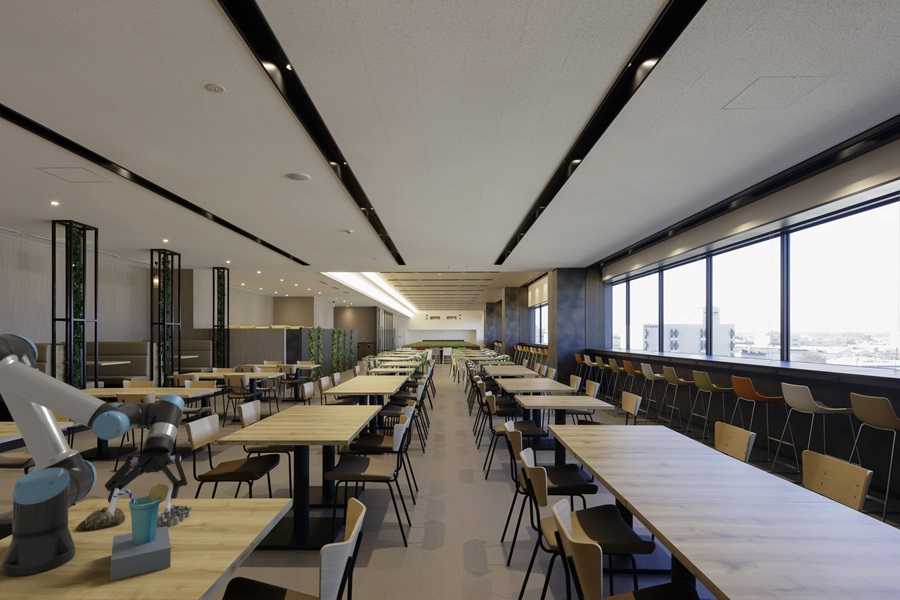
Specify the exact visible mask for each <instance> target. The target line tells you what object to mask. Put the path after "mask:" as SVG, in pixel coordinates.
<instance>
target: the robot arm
mask: <svg viewBox="0 0 900 600" xmlns="http://www.w3.org/2000/svg"><path fill="white" fill-rule="evenodd" d="M38 355H39V354H38V348H37V346H36V344H35V343H34V342H33V341H32V340H31V339H29V338H28V337H25V336H23V335H18V334H12V333H2V334H0V395H1V397H2V399H3V401H4V403H5V405H6V407H7V409H8V412H9V413H10V415H11V418H12V420H13V421H14V424H15V425H16V427H17V429H18V431H19V433H20V436H21V437H22V439H23V441H24V443H25V446H26V448H27V449H28V452H29V454H30V455H31V457H32V460H33V461H34V464H35V466H34V467H33V469H32V471H31V472H29V473H27V474H24V475H22V476H21V477H20V478H18V479H17V480H16V482H15V484H14V485H13V492H12V534H11V535H12V536H11V540H10V543H9V545H8V548H7V551H6V553H5V556H4V558H3V560H2V566H1V572H2V574H3V575H5V576H9V577H10V576H11V577H12V576H13V577H17V576H27V575H28V576H29V575H34V574H39V573H43V572H46V571H49V570H52V569H54V568H57V567H60V566H62V565H64V564H66V563H68V562H70V561H71V560H72V559H74V557H75V556H76V545H75V542H74V540H73V537H72V534H71V532H70V530H69V508H70V507H72V506H73V505H74V504H76V503H77V502H79V501H81V500H83V499H84V498H85V497H86V496H87V495H88V494H89V493H90V492H91V491H92V490H93V488H94V487H95V485H96V482H97V480H98V479H97V478H98V477H97V476H98V475H97V469H96V467H95V466H94V465H93V463H91V462H90V461H88V460H85V459H83V457H82V455H81V453H80V452H79V451H80V450H76V449H72V448H71V447H70V445H69V443H68V441H67V439H66V437H65V435H64V432H63V431H62V429H61V427H60V425H59V423H58V421H57V419H56V417H55V414H54V413H56V414H59V415H61V416H63V417H65V418H67V419H69V420H71V421H74V422H76V423H78V424H81V425H83V426H85V427H87V428H90V429H91V430H92V431H93V434H94V435H95V436H96V437H97V438H99V439H100V440H107V441H108V440H112V439H113V440H114V439H116V438H120V437H122V436H123V435H124V434H125V433H128V432H130V431H132V430H134V429H143V428H144V429H145V428H146V429H147V428H148V432H147V435H146V438H145V441H144V445H143V447H142V450H141V454H140V456H139V457H133V456H132V455H129V456H127V458H126V459H125V462H124V463H123V464H122V465H121V467H119V468H118V470H117V471H116V472H115V473H114V474H113V475H112V476H111V477H110V478H109V480H108V481H107V482H105V484H104V487H105V489H106V490H107V492H109V495H108V497H107V502H108V504H109V505H108V506H107V507H108V510H107V513H108V514H109V516H110V517H112V516H113V515H114V513H115V510H116V508H118V507H117V506H118V504H119V500H120V498H121V495H120V496H118V497H115V498H114V497H113V495H115V494H117V493H119V492H121V491H122V489H123V488H125V487H126V486H128V485H129V484H130V483H131V482H133V480H135V479H136V478H137V477H138V476H141V475H143V474H148V473H149V474H150V473H159V472H160V471H162V473H163V474H165V476H166V477H167V479H168V480H169V481H170V482H171V484H169V486H168V488H169V491H168V494H167V498H166V500H165V502H164V505H163V506H164V507H163V508H164V510H166V512H169V511H170V508H171V506H172V505H173V504H172V503H173V500H174V499H177V498H178V495H179V491H180V488H181V487H183V486H185V487H186V486H187V485H189V483H188V480H187V477H186V474H185V472H184V469H183V466H182V456H181V453H179V452H177V453H176V454H174V455H172V452H173V447H174V444H175V440H176V437H177V434H178V431H179V427H180V423H181V420H182V416H183V414H184V413H183V412H184V407H185V401H184V399H183V397H181V396H179V395H177V394H174V393H173V394H171V393H168V394H165V395H162V396H161V397H160V398H158V400H157V402H121V403H120V402H119V403H118V402H117V403H113V404H110V403H108V402H107V401H104V400H102V399H100V398H98V397H96V396H93V395H91V394H89V393H87V392H85V391H83V390H80V389H79V388H76V387H75V386H72V385H70V384H69V383H66V382H64V381H62V380H59V379H57V378H55V377H53V376H51V375H50V374H49V375H48V374H47V373H45V372H42V371H40V370H39V369H40V368H39V367H38V366H37V365H38V364H37V363H36V361H37V359H38ZM170 462H172V463H173V464H175V466H176V469H177V473H178V475H179V477H180V479H177V477H176V476H175V475H174V474H173V473H172V471H171V470H170V469H169V467H168V466H167V465H168V464H170Z"/></svg>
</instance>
